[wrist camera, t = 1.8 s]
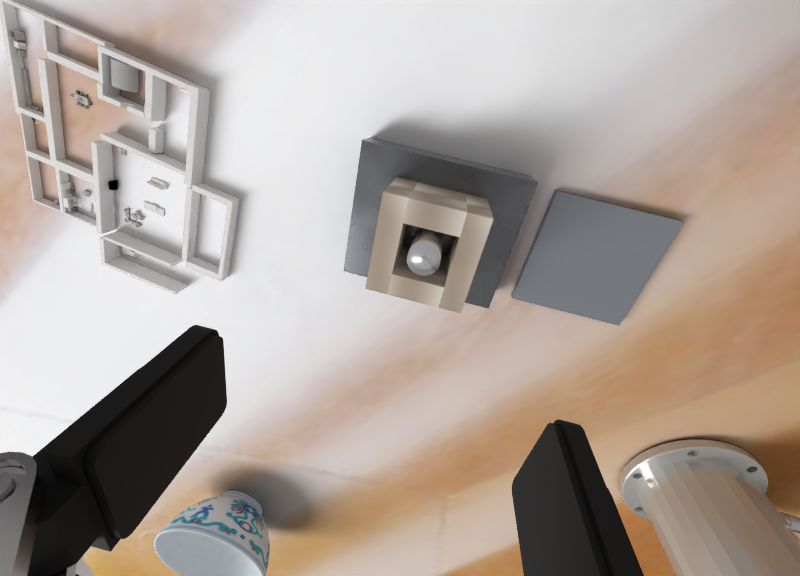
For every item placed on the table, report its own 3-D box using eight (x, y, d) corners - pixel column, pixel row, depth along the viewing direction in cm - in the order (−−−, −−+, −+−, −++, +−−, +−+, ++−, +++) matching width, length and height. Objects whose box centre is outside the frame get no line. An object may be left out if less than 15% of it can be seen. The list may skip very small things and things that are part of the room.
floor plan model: (282, 324, 35) (273, 335, 33) (47, 226, 34) (25, 232, 32) (331, 139, 26) (322, 141, 24) (15, -1, 25) (-18, -9, 23)
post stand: (530, 176, 25) (559, 202, 18) (486, 293, 30) (494, 351, 22) (370, 137, 25) (335, 147, 18) (352, 259, 30) (318, 305, 23)
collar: (487, 199, 24) (493, 219, 19) (460, 279, 27) (460, 313, 22) (397, 177, 24) (382, 191, 19) (381, 259, 27) (365, 288, 22)
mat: (679, 219, 25) (683, 222, 24) (616, 321, 29) (619, 325, 28) (555, 189, 25) (557, 191, 24) (511, 294, 29) (512, 298, 29)
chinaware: (174, 478, 51) (130, 534, 44) (253, 465, 46) (217, 525, 40) (232, 536, 56) (201, 595, 50) (307, 530, 52) (284, 593, 45)
